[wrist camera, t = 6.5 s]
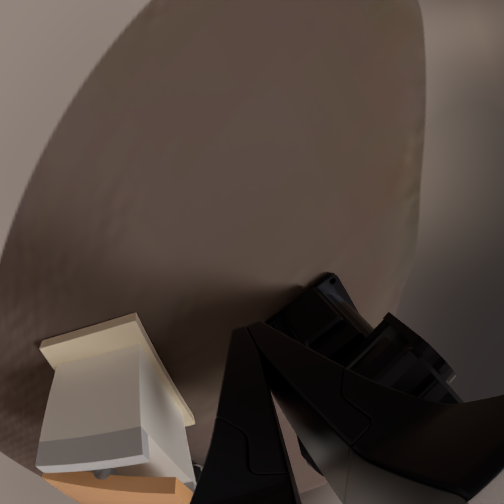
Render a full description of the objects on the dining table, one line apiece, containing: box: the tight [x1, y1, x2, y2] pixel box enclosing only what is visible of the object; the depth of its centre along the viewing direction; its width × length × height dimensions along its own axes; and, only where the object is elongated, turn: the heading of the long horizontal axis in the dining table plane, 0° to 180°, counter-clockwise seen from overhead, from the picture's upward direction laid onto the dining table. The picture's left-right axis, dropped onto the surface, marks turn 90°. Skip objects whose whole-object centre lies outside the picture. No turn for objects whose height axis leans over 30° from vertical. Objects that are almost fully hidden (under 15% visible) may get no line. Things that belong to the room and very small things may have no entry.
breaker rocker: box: [42, 468, 193, 504], centre depth 13 cm, size 9×5×2 cm, turn 102°
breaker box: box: [35, 312, 197, 493], centre depth 17 cm, size 8×12×10 cm, turn 13°
